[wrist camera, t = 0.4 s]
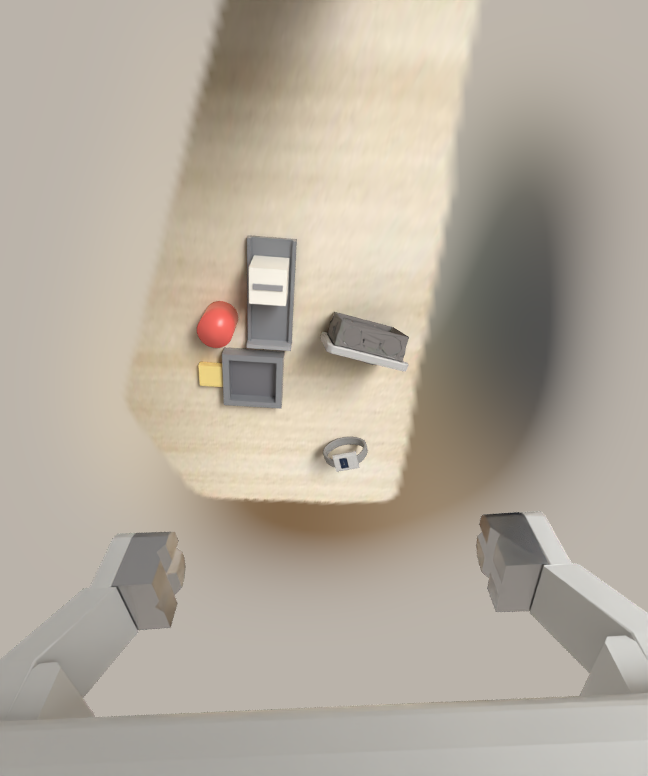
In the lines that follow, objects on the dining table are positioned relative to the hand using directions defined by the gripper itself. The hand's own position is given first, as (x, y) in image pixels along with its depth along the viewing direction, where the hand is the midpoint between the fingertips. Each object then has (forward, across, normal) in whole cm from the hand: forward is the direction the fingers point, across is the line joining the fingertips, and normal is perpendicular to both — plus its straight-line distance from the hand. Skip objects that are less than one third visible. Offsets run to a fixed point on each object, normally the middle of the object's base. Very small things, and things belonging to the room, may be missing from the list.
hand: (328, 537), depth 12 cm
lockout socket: (+44, +12, +20) cm, 50 cm away
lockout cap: (+44, +13, +12) cm, 47 cm away
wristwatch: (+44, -1, +32) cm, 55 cm away
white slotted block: (+44, +6, +6) cm, 45 cm away
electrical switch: (+44, -4, +14) cm, 47 cm away
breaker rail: (+44, +6, +9) cm, 45 cm away
